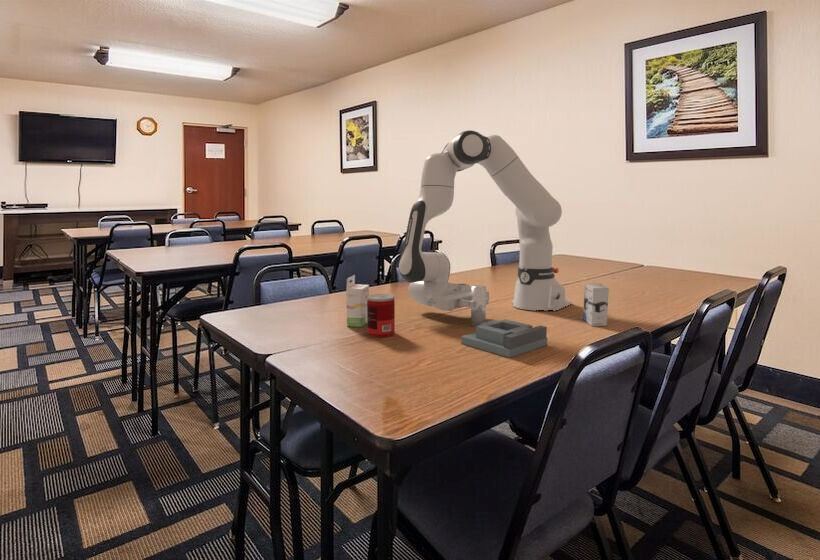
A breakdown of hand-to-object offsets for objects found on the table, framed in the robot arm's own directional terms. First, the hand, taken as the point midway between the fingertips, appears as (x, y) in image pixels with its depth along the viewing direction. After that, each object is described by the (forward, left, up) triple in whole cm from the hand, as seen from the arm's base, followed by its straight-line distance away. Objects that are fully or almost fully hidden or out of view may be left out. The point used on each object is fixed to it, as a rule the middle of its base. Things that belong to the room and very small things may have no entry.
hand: (480, 303), depth 154 cm
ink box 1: (+26, -27, -7) cm, 38 cm away
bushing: (0, -1, -7) cm, 7 cm away
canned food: (+28, -13, -7) cm, 32 cm away
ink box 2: (-29, +21, -7) cm, 37 cm away
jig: (+10, +17, -7) cm, 21 cm away
